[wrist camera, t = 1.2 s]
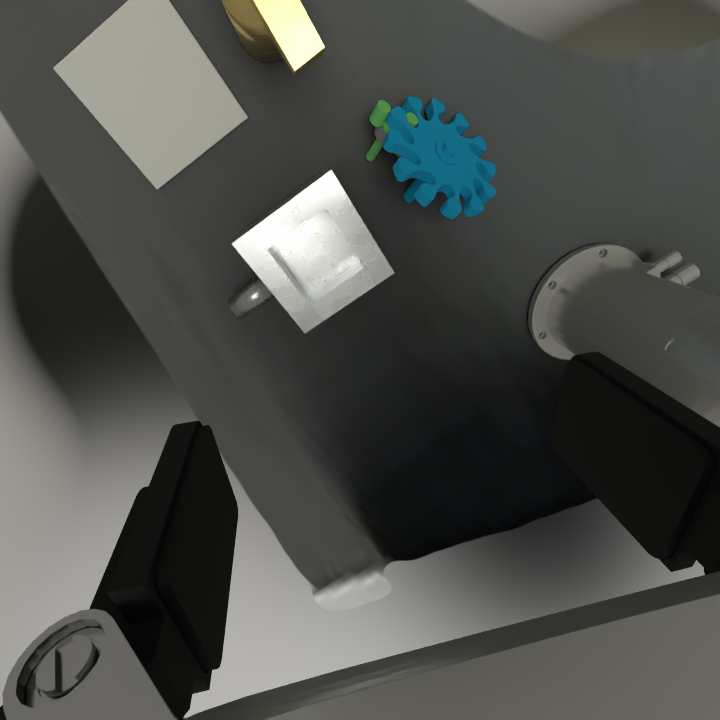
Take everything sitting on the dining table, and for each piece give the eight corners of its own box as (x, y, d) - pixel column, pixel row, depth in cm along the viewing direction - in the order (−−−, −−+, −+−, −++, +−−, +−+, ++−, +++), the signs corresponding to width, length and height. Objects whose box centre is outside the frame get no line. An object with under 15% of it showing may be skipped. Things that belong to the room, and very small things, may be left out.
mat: (155, -20, 25) (153, -23, 25) (248, 117, 29) (247, 117, 29) (56, 69, 26) (52, 68, 26) (158, 189, 31) (157, 189, 30)
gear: (514, 152, 32) (485, 234, 27) (466, 197, 37) (435, 272, 32) (409, 55, 29) (357, 130, 25) (372, 118, 34) (324, 189, 30)
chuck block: (326, 167, 32) (331, 169, 27) (382, 258, 36) (394, 272, 31) (203, 259, 33) (190, 274, 29) (270, 335, 38) (267, 358, 33)
